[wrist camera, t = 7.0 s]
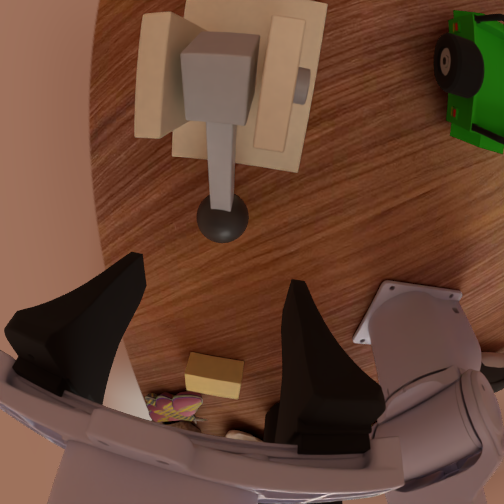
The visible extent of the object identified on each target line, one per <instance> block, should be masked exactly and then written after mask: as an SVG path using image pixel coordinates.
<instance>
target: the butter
mask: <svg viewBox="0 0 504 504" xmlns="http://www.w3.org/2000/svg"><path fill="white" fill-rule="evenodd" d="M243 367H244V361H240V360H233V359H227V358H221V357H215V356H210V355H204V354H199V353H194V352H191V353H190V356H189V360H188V363H187V367H186V370H185V381H186V389H187V390H188V391H193V392H198V393H203V394H208V395H214V396H220V397H226V398H232V399H238V397H239V392H240V387H241V382H242V375H243Z"/></svg>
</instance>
